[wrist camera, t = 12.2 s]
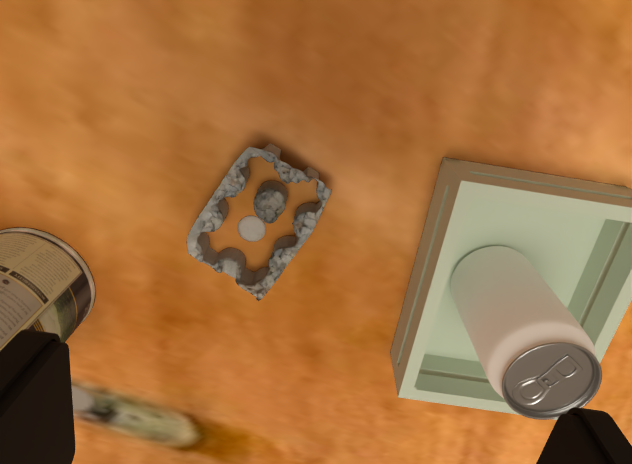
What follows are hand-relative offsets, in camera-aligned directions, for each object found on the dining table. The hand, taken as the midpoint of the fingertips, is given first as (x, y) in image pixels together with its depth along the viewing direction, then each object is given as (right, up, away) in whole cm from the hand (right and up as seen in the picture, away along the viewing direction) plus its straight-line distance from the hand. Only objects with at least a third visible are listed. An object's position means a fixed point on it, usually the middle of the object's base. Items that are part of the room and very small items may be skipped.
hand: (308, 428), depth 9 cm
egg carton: (-4, +6, +29) cm, 30 cm away
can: (+14, 0, +30) cm, 33 cm away
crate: (+15, 0, +30) cm, 34 cm away
